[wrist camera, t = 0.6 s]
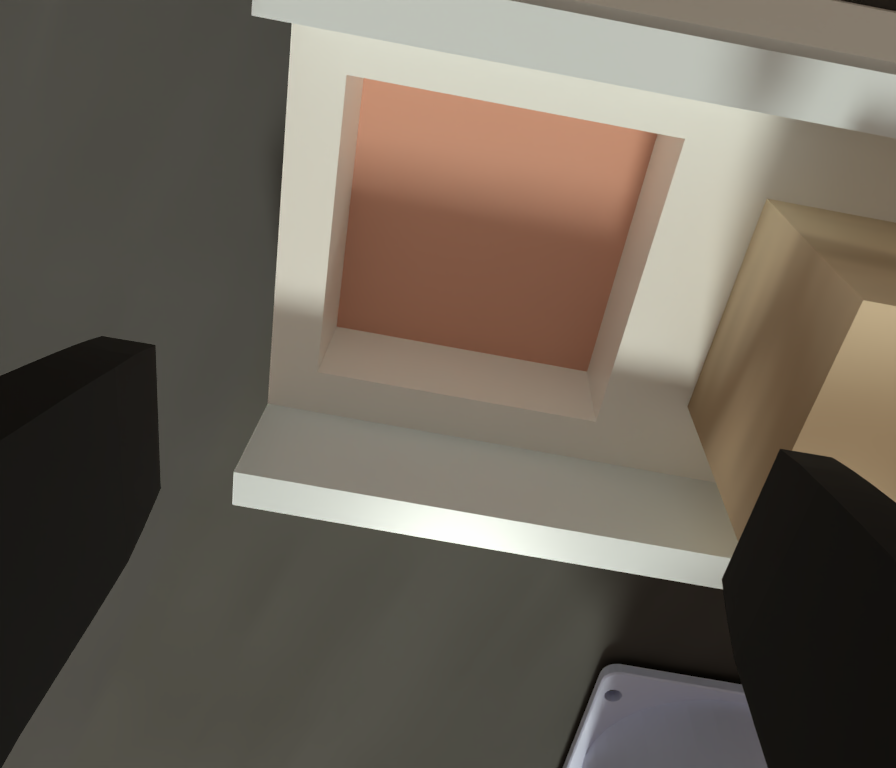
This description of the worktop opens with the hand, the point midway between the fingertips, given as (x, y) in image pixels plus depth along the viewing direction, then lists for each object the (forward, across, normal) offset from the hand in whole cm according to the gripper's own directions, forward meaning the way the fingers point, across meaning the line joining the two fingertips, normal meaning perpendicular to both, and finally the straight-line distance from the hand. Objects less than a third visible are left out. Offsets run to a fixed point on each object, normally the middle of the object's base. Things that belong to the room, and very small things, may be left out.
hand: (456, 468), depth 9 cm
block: (+7, -7, 0) cm, 10 cm away
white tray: (+9, -7, 0) cm, 12 cm away
